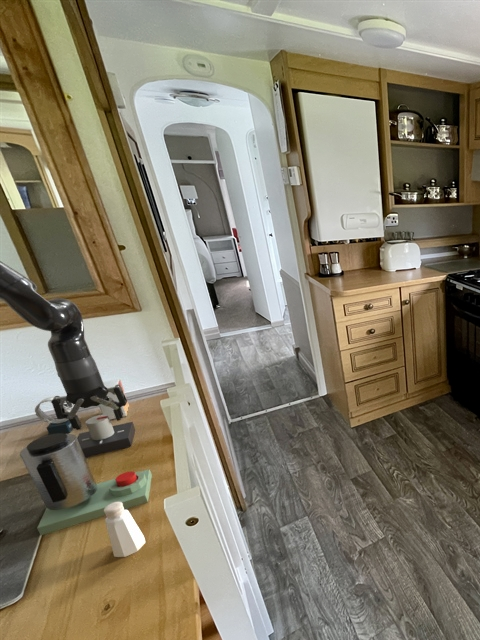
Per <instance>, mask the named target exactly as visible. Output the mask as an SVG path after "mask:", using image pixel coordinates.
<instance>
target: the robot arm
mask: <svg viewBox="0 0 480 640" xmlns="http://www.w3.org/2000/svg"><path fill="white" fill-rule="evenodd" d="M37 291H38V286H37V284H36V283H35V282H34V281H32V280H30V279H29V278H27V276H25V275H23V274H21V273H20V272H18V271H17V270H15V269H14V268H12V267H10V266H9V265H8V264H6V263H4V262H3V261H2V260H0V301H2V302H3V303H5V304H6V305H7V306H8V307H9V308H10V309H11V310H12V311H14V312H15V314H17V316H19V317H20V318H21V319H22V320H24V321H25V322H26V323H27V324H29V325H31V326H32V327H34V328H37V329H39V330H40V331H41V330H42V331H45V332H50V338H49V340H48V341H47V348H48V351H49V354H50V355H51V358H52V361H53V363H54V366H55V369H56V374H57V377H58V378H59V380H60V382H61V385H62V387H63V389H64V391H65V394H66V395H63V396H60V395H55V396H53V397H54V398H53V400H52V403H51V405H52V408H53V410H54V412H55V416H56V418H58V419H63V418H66V419H69V421H70V423H71V425H72V427H73V430H74V429H76V430H77V431H80V430H82V428H83V425H82V423H81V420H80V418H79V416H78V414H77V413H78V411H79V409H80V408H82V409H88V408H90V407H99V405H100V404H102V405H104V406H108V407H110V408H112V409H114V410H113V411H114V414H115V417H116V418H115V419H116V421H117V422H119V421H122V419H123V418H124V417H123V412H122V409H121V407H122V406H125V405H126V403H127V401H128V398H127V396H125V395H126V393H125V394H124V392H125V391H124V392H123V390H122V388H121V386H120V385H115V387H111V388H106V387H105V386H104V383H103V382H104V381H103V379H102V375H101V373H100V371H99V368H98V365H97V362H96V361H95V359H94V357H93V355H92V353H91V351H90V348H89V345H88V343H87V341H86V337H85V327H84V320H83V316H82V312H81V310H80V309H79V307H78V306H77V304H76V303H74V302H73V301H72V300H70V299H67V298H63V297H55V298H51V299H48V300H47V299H46V298H45V297H43V296H42V295H40V293H38V292H37ZM108 392H111V393H112V394H114V395H116V396H117V398H118V400H119V402H117V401H115V400H113V399H112V398H110V397H108V396H107V394H108ZM126 398H127V399H126ZM66 400H67V401H68V402H70V403H72V404H74V406H73V408H72V410H71V411H70V412H65V409H64V406H63V404H64V403H65V401H66Z"/></svg>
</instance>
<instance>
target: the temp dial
mask: <svg viewBox="0 0 480 640" xmlns="http://www.w3.org/2000/svg"><path fill="white" fill-rule="evenodd" d="M85 425H86V427H87V430H88V431H89V432H90V435H91V437H92V439H93V440H102V439H106V438H108V437H110V436H112V435H113V434H114V429H113V427H112V426H113V425H112V421H111V420H110V419H109V416H108V415H102V414H99V415H95V416H92V417H90V418H88V419H86V420H85Z"/></svg>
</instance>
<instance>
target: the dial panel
mask: <svg viewBox="0 0 480 640" xmlns="http://www.w3.org/2000/svg"><path fill="white" fill-rule="evenodd" d="M112 427H113V429H114V434H113V435H112V436H110V437H108V438H106V439H102V440H93V439H92V437H91V435H90V432H89V430H88V431H85V432H80V433H78V435H77V436H76V437H77V439H78V442H79V444H80V447H81V449H82V451H83V454H84V456H85V458H86V459H87V458H90V457H94V456H98V455H102V454H103V455H104V454H106V453H110V452H115V451H118V450H122V449H126V448H131V447H132V446H133V441H134V437H135V433H136V427H135V425H134V421H130V422H124V423H121V424H115V425H112ZM130 446H131V447H130Z"/></svg>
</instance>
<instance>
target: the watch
mask: <svg viewBox="0 0 480 640" xmlns="http://www.w3.org/2000/svg"><path fill="white" fill-rule="evenodd" d="M54 397H55V396H52V397H51V396H50V397H46V398H44V399H42V400H41V401H39V402H38V404H37V405H36V406H35V408H34V413H35V416H36V417H38V418H39V419H40V420H41V421H43V422H45V423H46V424H47V423H48V425H47V426H46V430H47V433H48V435H51V434H57V433H64V434H71V433H72V431H73V430H74V428H73V427H72V425H71V423H70V421H69V419H66V418H63V419H58V418H57V417H56V418H53V417H52V416H50V415H48V414H47V413H45V412H44V410H42V409H41V408H40V407H41V404H44V403H48V402H50V403H51V404H52V400H53V398H54ZM74 405H75V404H72V403H70V402H68V401H67V400H66V401H65V403H64V404H63V406H64V409H65V412H70V411H71V410H72V408H73V406H74Z"/></svg>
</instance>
